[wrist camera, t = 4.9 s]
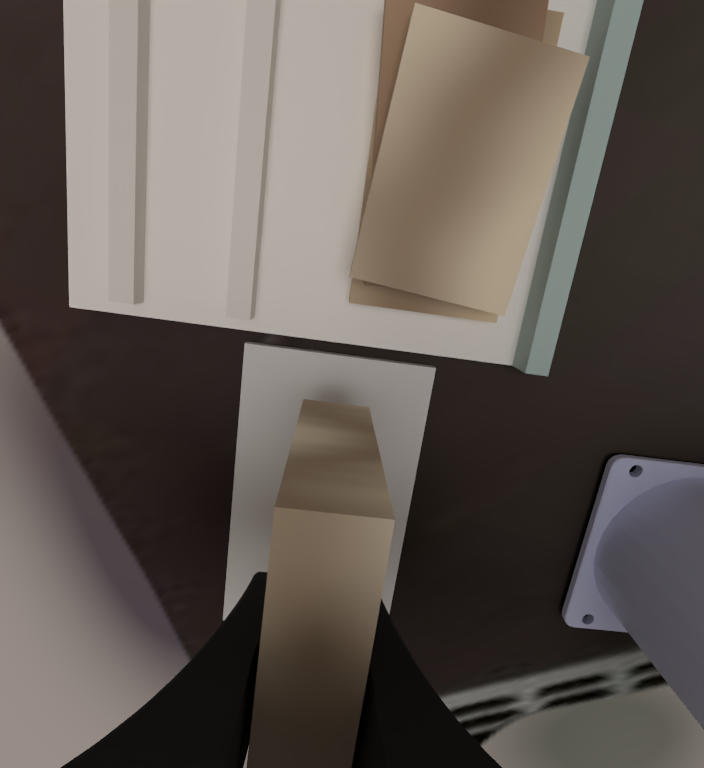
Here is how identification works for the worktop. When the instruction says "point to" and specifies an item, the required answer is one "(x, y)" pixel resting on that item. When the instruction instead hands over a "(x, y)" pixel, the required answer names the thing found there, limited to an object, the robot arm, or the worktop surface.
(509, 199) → the offcut stack
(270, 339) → the worktop surface
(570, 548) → the worktop surface
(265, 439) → the felt pad
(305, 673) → the birch panel
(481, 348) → the board
